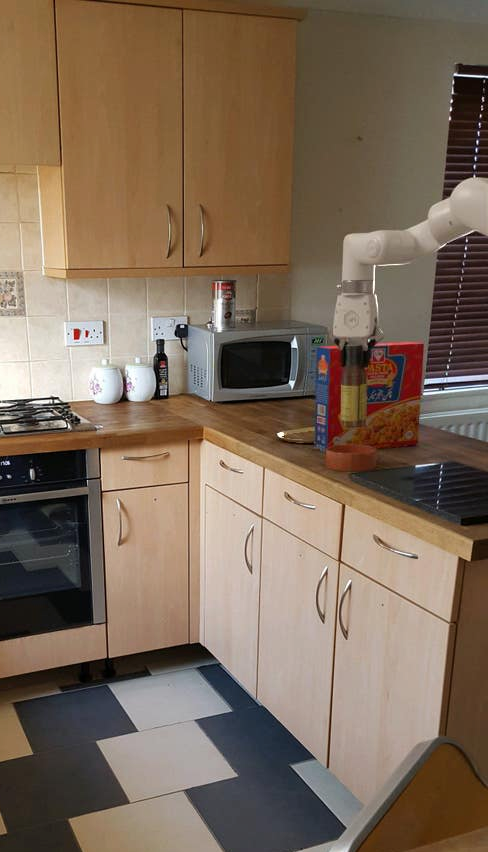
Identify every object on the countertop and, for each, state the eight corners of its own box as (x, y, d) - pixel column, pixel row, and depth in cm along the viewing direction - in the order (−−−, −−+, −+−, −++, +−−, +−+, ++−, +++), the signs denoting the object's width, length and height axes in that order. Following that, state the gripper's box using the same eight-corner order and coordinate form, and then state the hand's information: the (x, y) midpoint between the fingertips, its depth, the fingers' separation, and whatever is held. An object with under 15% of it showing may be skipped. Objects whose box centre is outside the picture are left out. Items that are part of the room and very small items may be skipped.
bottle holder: (384, 464, 224) (384, 446, 222) (362, 473, 214) (363, 455, 213) (339, 459, 231) (339, 442, 230) (316, 468, 222) (316, 450, 220)
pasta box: (326, 453, 240) (330, 348, 231) (314, 448, 247) (316, 346, 238) (417, 445, 247) (424, 343, 238) (402, 441, 254) (408, 341, 245)
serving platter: (394, 433, 265) (395, 428, 265) (304, 447, 249) (304, 442, 248) (352, 426, 281) (352, 421, 280) (264, 438, 264) (264, 433, 264)
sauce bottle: (360, 423, 223) (364, 342, 216) (369, 427, 217) (373, 344, 210) (335, 424, 222) (338, 344, 215) (344, 428, 216) (348, 345, 209)
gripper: (318, 289, 211) (316, 367, 217) (384, 288, 201) (380, 369, 207) (333, 288, 216) (330, 364, 222) (397, 287, 207) (393, 366, 212)
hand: (354, 366), depth 215 cm, fingers closed on sauce bottle, 4 cm apart
